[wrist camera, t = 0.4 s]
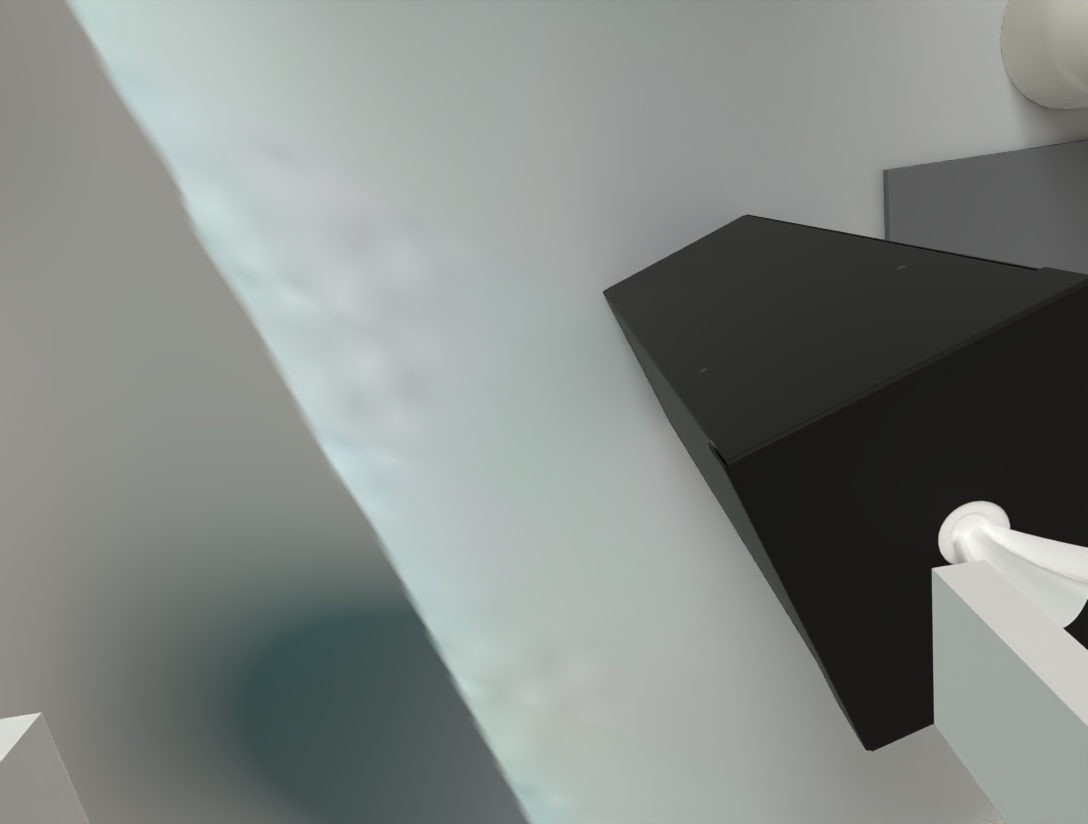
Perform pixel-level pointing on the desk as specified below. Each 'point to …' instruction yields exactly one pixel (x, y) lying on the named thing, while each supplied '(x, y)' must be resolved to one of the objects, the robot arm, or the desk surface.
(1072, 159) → the mat
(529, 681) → the desk surface
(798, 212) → the desk surface
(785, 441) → the black rectangular box
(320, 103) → the desk surface
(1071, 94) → the stoneware mug
